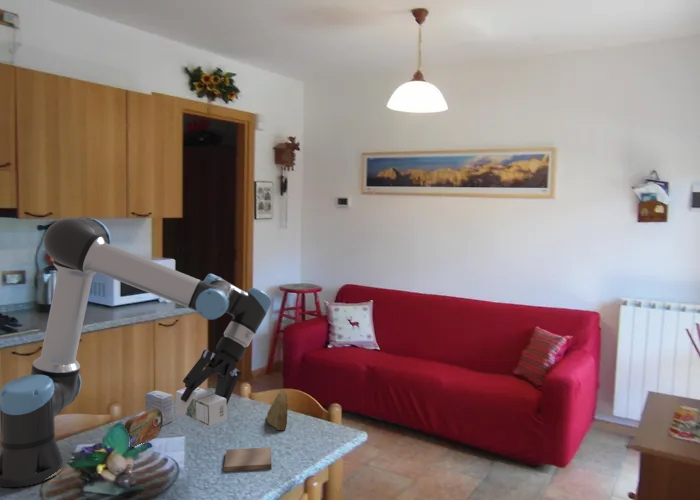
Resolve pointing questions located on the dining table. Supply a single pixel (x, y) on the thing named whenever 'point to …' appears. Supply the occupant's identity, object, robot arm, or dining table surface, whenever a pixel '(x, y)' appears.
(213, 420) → the syrup box
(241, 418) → the dining table surface
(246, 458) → the walnut board
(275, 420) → the rock
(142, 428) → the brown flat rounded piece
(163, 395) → the medicine box
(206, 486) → the dining table surface
